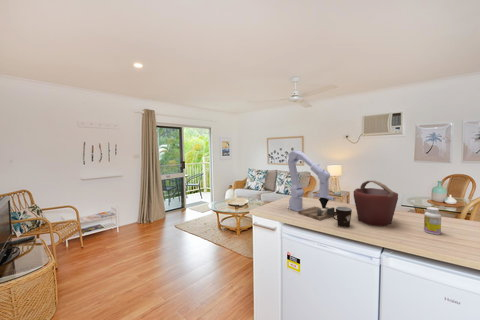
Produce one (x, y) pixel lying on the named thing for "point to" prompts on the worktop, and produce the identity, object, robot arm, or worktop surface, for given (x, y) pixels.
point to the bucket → (375, 204)
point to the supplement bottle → (432, 221)
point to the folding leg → (325, 210)
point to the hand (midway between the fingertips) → (323, 208)
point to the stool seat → (317, 213)
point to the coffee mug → (343, 216)
